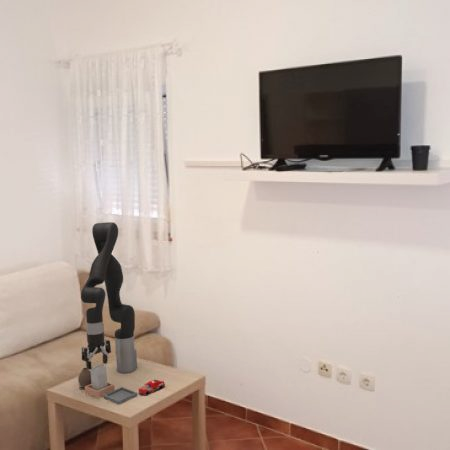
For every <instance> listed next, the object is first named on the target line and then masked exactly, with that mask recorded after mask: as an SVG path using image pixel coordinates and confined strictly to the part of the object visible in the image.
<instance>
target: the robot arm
mask: <svg viewBox="0 0 450 450" xmlns="http://www.w3.org/2000/svg"><path fill="white" fill-rule="evenodd" d="M118 227H119V226H118V225H117V224H116V222H112V221H111V222H109V221H108V222H106V221H105V222H96V223H94V224H93V226H92V230H91V233H92V237H93V238H92V239H93V241H94V245H95V248H96V251H97V254H98V255H97V256H96V257H95V258H94V260H93V261H92V264H91V266H90V270H89V274H88V278H87V280H86V282H85V283H84V284H85V285H83V287H82V289H81V292H80V300H81V301H82V302H83V303H85V304H95V306H93V307H90V308H87V309H86V311H85V314H86V315H85V317H86V329H85V330H86V341H87V346H85V347H84V346H83V347H81V360H82V361H83V362H85V363H86V364H85V365H86V366H85V368H88V369H89V370H90V369H92V367H93V366H92V361H91V360H92V359H93V358H94V356H95V355H97V354H100V353H101V354H102V364H104V365H106V364H108V359H109V358H108V357H109V356H108V355H109V354H111V353H112V349H111V347H112V346H111V340H109V339H105V329H104V328H105V327H104V326H105V325H104V319H103V309H104V304H105V299H106V296H107V302H108V303H107V304H108V313H109V317H110V319H111V321H113V322H114V323H118V324H120V328H118V329H116V330H115V331H114V344H115V346H114V347H115V358H116V360H115V361H116V372H117V373H121V374H126V373H127V374H128V373H132V372H135V371H136V369H138V355H137V354H138V353H137V349H136V348H135V329H136V326H135V325H136V323H135V322H136V319H135V318H136V316H135V315H136V314H135V309H134V307H133V306H132V305H130V304H126V303H125V304H124V303H122V300H121V296H120V293H121V288H122V286H123V283H124V273H123V269H122V265H121V263H120V261H119V260H118V259H117V258H116V257H115V256H114V255H113V254H112V253H113V251H114V249H115V247H116V243H117V240H118V237H119V228H118ZM102 284H104V286H105V289H104V288H103V287H97V286H99V285H102ZM105 290H106V291H105Z"/></svg>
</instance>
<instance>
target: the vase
mask: <svg viewBox="0 0 450 450" xmlns="http://www.w3.org/2000/svg"><path fill="white" fill-rule="evenodd" d="M77 380H78V384H79V386H80V387H81V388H82V389H85V386H87V385H90V384H92V382H91V371H90V369H88V368H87V367H83V368H82V370H81V371H80V372H79V375H78V379H77Z"/></svg>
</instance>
